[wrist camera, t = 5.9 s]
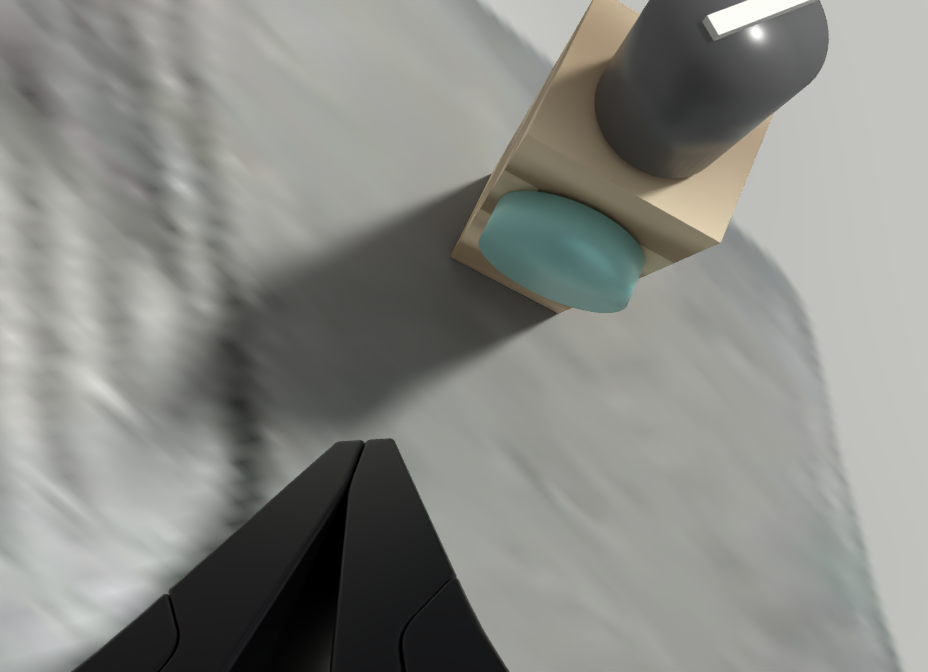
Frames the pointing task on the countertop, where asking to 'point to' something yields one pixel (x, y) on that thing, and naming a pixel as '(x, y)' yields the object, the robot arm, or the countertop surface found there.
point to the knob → (563, 251)
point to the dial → (705, 78)
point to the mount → (606, 164)
